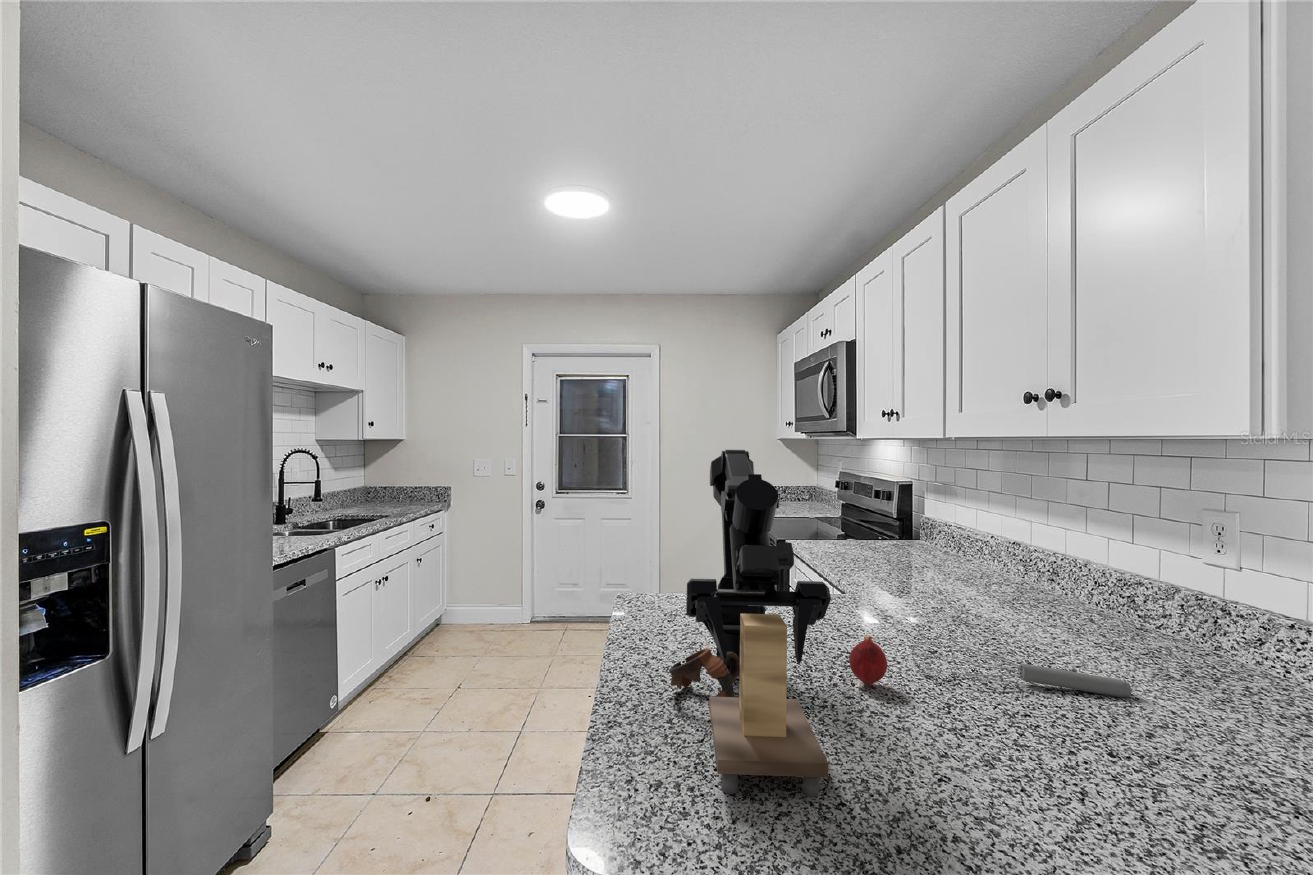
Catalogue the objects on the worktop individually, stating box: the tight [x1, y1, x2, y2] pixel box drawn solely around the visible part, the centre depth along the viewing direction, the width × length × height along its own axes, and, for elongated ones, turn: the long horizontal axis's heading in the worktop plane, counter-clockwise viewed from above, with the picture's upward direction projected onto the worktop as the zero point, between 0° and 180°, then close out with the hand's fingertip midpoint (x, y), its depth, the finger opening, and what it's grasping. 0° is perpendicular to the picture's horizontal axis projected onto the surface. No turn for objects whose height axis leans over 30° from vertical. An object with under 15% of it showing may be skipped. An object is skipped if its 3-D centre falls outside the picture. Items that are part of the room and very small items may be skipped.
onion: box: [848, 634, 888, 687], centre depth 92 cm, size 6×6×8 cm
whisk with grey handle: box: [910, 637, 1145, 698], centre depth 94 cm, size 6×34×6 cm, turn 73°
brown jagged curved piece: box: [668, 648, 740, 697], centre depth 88 cm, size 12×10×8 cm
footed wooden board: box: [708, 696, 829, 798], centre depth 70 cm, size 16×12×4 cm
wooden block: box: [738, 613, 788, 737], centre depth 70 cm, size 5×5×13 cm
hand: (762, 660), depth 70 cm, fingers open, 9 cm apart
